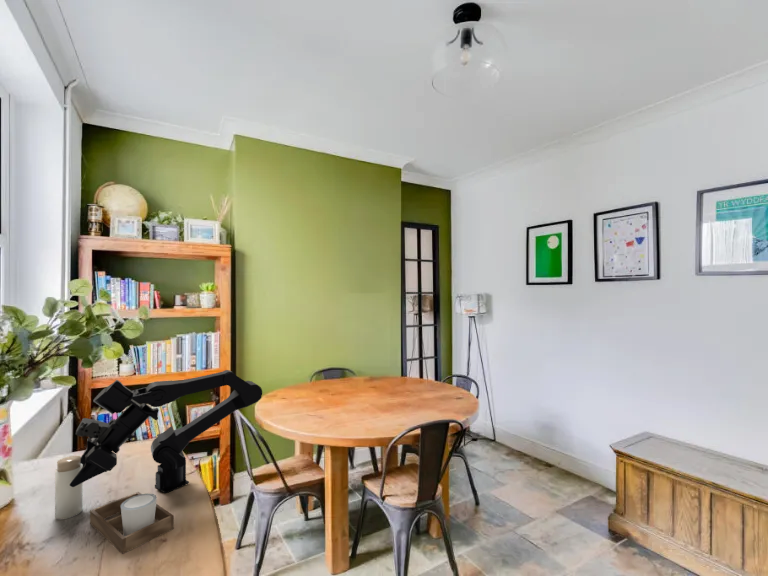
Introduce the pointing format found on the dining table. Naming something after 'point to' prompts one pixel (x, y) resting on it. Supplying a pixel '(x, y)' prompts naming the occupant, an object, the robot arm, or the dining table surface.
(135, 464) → the dining table surface
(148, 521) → the white cup
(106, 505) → the walnut caddy
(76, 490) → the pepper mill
